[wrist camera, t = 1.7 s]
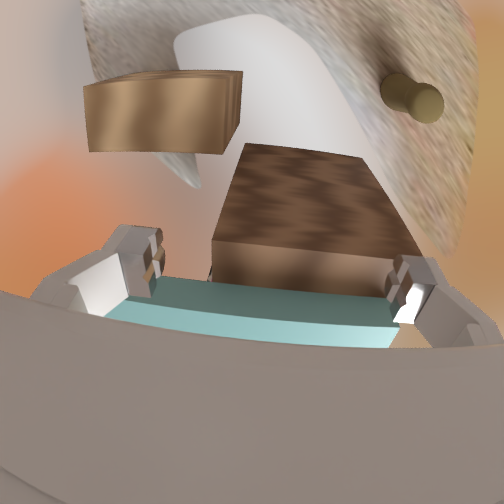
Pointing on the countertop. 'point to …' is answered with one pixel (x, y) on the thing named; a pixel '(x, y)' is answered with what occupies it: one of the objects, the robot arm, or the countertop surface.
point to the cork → (412, 98)
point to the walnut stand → (307, 224)
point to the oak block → (164, 111)
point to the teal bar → (262, 314)
